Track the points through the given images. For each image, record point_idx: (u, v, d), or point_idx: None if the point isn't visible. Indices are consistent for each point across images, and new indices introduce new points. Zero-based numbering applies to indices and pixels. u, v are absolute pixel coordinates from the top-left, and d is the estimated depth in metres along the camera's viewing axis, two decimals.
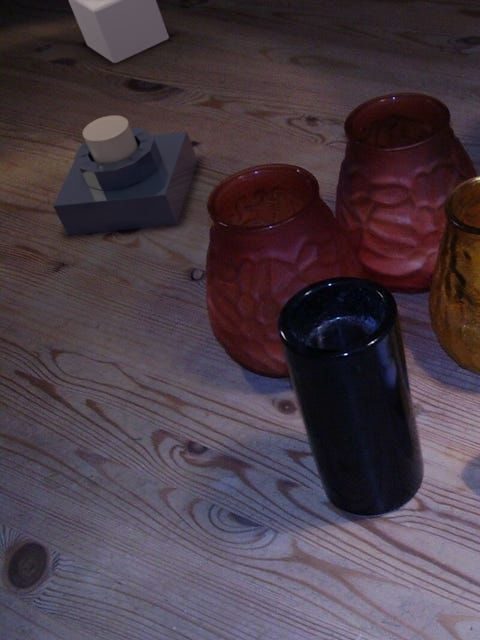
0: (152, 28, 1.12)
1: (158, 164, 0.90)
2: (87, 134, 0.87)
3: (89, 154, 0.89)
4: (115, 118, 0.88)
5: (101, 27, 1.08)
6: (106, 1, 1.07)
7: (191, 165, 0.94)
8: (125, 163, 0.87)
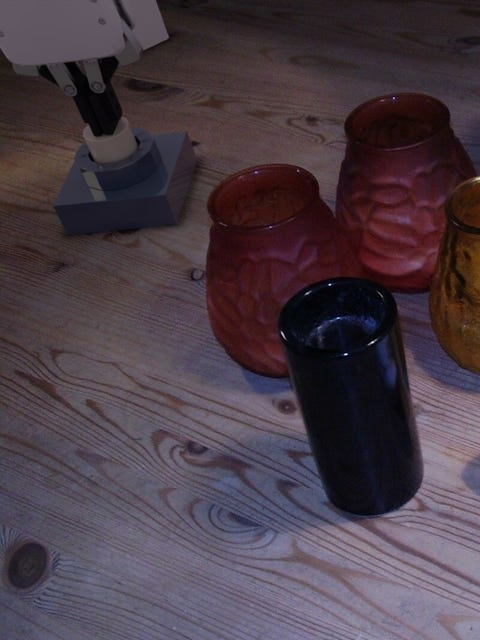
0: (152, 28, 1.12)
1: (158, 164, 0.90)
2: (87, 135, 0.87)
3: (89, 154, 0.89)
4: None
5: None
6: None
7: (191, 165, 0.94)
8: (125, 163, 0.87)
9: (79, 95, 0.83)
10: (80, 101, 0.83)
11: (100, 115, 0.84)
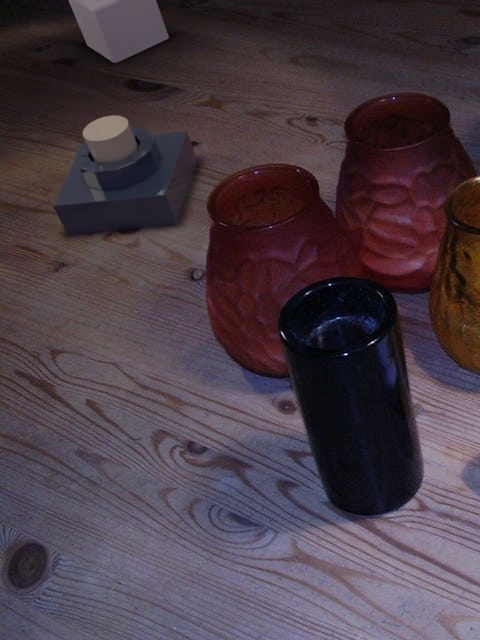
0: (152, 28, 1.12)
1: (158, 164, 0.90)
2: (87, 134, 0.87)
3: (89, 154, 0.89)
4: (115, 118, 0.88)
5: (101, 27, 1.08)
6: (106, 1, 1.07)
7: (191, 165, 0.94)
8: (125, 163, 0.87)
9: None
10: None
11: None
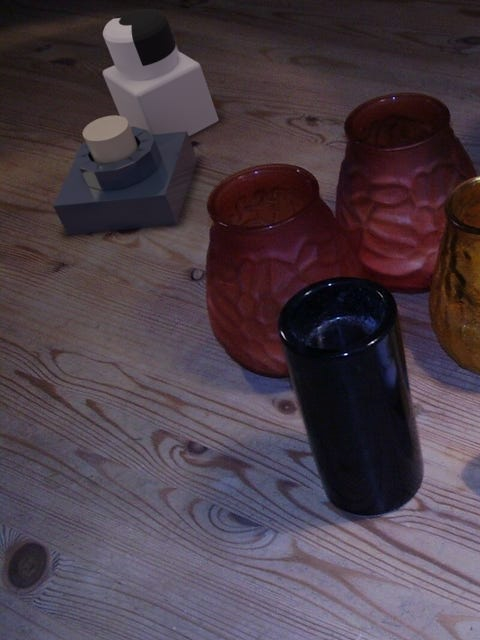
0: (200, 111, 0.98)
1: (158, 164, 0.90)
2: (87, 134, 0.87)
3: (89, 154, 0.89)
4: (115, 118, 0.88)
5: (144, 113, 0.94)
6: (150, 84, 0.94)
7: (191, 165, 0.94)
8: (125, 163, 0.87)
9: None
10: None
11: None
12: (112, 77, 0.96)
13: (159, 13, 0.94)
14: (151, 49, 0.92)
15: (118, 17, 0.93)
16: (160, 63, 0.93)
